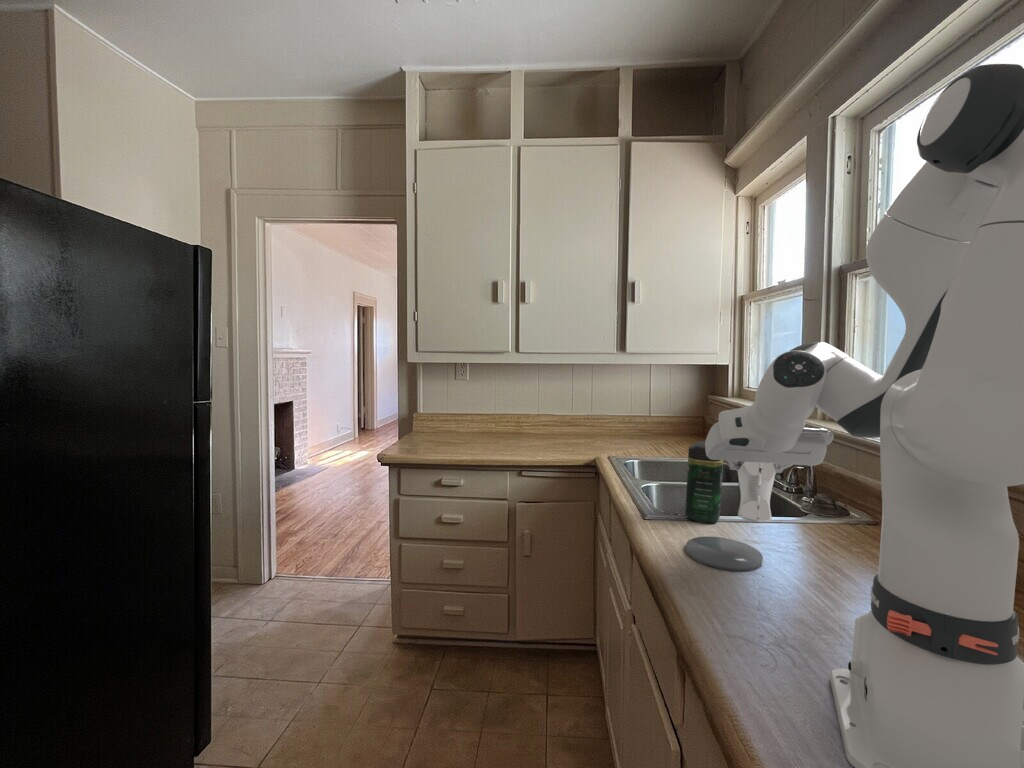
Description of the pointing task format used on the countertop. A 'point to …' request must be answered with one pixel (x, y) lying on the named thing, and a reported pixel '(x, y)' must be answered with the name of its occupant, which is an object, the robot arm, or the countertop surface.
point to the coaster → (724, 553)
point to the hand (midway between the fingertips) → (754, 468)
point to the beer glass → (755, 490)
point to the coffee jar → (703, 485)
